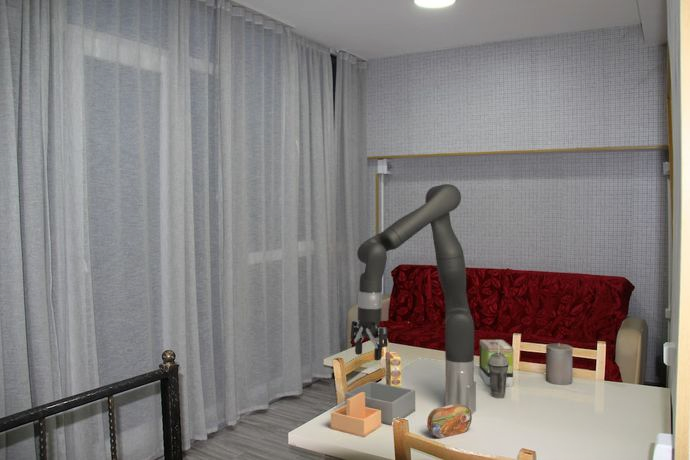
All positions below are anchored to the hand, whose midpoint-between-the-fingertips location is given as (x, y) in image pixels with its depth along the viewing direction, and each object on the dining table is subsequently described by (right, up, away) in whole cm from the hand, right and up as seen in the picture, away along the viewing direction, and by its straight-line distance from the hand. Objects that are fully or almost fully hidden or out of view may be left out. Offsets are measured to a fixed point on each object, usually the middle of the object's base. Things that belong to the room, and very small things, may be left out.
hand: (367, 357), depth 179 cm
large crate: (+5, -20, +8) cm, 22 cm away
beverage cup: (+48, -20, +24) cm, 57 cm away
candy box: (+10, -20, +24) cm, 33 cm away
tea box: (+52, -19, +43) cm, 70 cm away
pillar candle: (+76, -19, +41) cm, 88 cm away
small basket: (-4, -21, -4) cm, 22 cm away
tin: (+24, -21, -9) cm, 33 cm away
